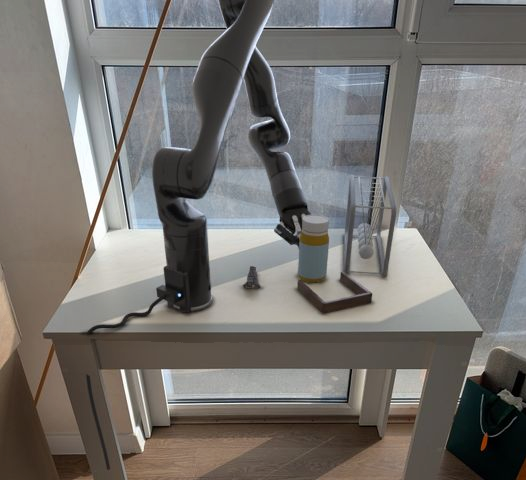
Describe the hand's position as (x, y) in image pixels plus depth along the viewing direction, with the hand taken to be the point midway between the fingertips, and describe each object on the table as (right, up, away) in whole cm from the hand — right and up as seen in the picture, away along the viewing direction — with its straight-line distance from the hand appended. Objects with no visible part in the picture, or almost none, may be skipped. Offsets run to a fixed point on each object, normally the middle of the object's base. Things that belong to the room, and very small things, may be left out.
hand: (308, 257), depth 126 cm
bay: (+5, -10, -8) cm, 14 cm away
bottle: (+1, -5, +1) cm, 5 cm away
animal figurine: (-14, -8, -3) cm, 16 cm away
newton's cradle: (+16, +3, +13) cm, 21 cm away
